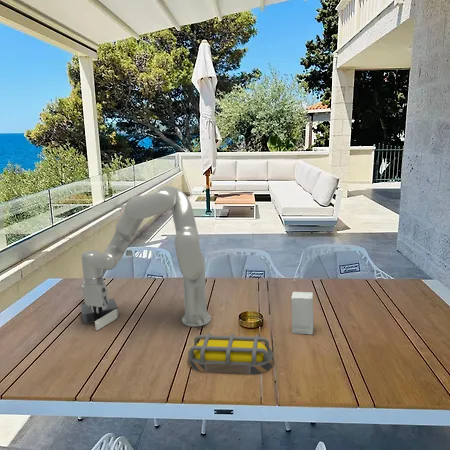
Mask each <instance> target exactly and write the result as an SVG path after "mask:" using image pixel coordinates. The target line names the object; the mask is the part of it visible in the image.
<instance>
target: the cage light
mask: <svg viewBox="0 0 450 450" xmlns="http://www.w3.org/2000/svg"><path fill="white" fill-rule="evenodd" d="M262 342H263V343H262ZM187 357H188V365H189V367H190V366H191V367H192V368H193V370H194V369H195V370H194V371H196V370H197V372H199V371H200V373H206V372H209V373H211V374H231V375H248V376H249V375H250V376H251V375H252V376H254V375H255V376H256V375H261V374H265V373H266V372H268V371H270V370H271V369H272V368H273V365H274V353H273V350H272V349H271V347H270V341H269V339H268V338H266V337H265V336H259V335H258V334H255V335H254V336H243V335H242V336H239V335H238V336H237V335H236V336H235V334H234V333H231V334H230V335H211V332H210V333H209V332H208V333H206V334H199V335H196V336H195V337H194V344H193V346H191V347H190V349H189V350H188V353H187ZM191 367H190V368H191ZM192 368H191V369H192ZM209 373H208V374H209Z"/></svg>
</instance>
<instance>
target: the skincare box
mask: <svg viewBox="0 0 450 450" xmlns="http://www.w3.org/2000/svg"><path fill="white" fill-rule="evenodd" d="M290 300H291V302H290V303H291V330H292V331H291V332H292V334H299V335H313V334H314V324H315V323H314V292H311V291H310V292H309V291H307V292H306V291H292V294H291V298H290Z"/></svg>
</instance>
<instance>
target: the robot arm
mask: <svg viewBox="0 0 450 450" xmlns="http://www.w3.org/2000/svg"><path fill="white" fill-rule="evenodd" d="M169 211H171V214H172V215H171V216H172V220H173V224H174V228H175V238H174V248H175V253H176V257H177V262H178V267H179V271H180V274H181V275H182V290H183V301H184V302H183V305H184V315H183V316H182V317H181V322H182V324H183V325H185V326H187V327H192V328H196V327H197V328H198V327H203V326H206V325H207V324H209V323H210V322H211V321H212V316H211V315H210V314H209V313H208V306H207V305H208V304H207V292H206V291H207V288H206V285H207V283H206V265H205V263H206V262H205V257H204V254H203V253H202V251H201V246H200V235H199V231H198V228H197V224H196V219H195V216H194V215H195V214H194V212H193V207H192V203H191V201H190V199H189V197H188V196H187V195H186V194H185V192H184V191H182V190H181V189H179V188H177V187H175V186H170V185H169V186H168V185H167V186H163V187H160V188H159V189H157V191H155V192H152V193H148V194H145V195H134V196H132V197H131V198H130V199H128V201H127V202H126V203H125V206H124V211H123V212H122V214H121V216H120V218H119V219H118V221H117V223H116V225H115V231H114V234H113V237H112V239H111V240H110V242H109V244H108V245H107V248H106V249H105V250H104V251H103V252H100V251H98V250H95V249H90V250H86V251H83V252H82V253H81V259H80V260H81V264H82V272H83V281H84V291H83V301H84V304H86V306H88V307H90V308H91V310H92V312H93V314H94V321H96V320H98V319H100V318H101V317H102V311H103V310H105V309H107V308H108V307H107V304H108V303H109V299H110V297H109V292H108V289H107V285H106V283H105V279H104V276H103V271H110V270H111V271H112V270H114V269H115V268H116V267H117V265H118V264H119V262H120V261H121V260H122V258H123V257H124V255H125V253H126V250H127V249H128V248H129V245H130V244H131V242H132V240H133V239H134V238H135V236H136V234H137V232H138V230H139V228H140V227H141V225H142V224H143V221H144V219H147V218H151V217H153V216H157V215H160V214H164V213H166V212H169ZM99 307H100V308H99Z"/></svg>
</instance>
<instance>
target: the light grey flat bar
mask: <svg viewBox="0 0 450 450" xmlns="http://www.w3.org/2000/svg"><path fill="white" fill-rule="evenodd" d="M118 313H119V308H118V309H115V310H113V311H112V312H110V313H108V314H107V315H105V316H103V317H101V318H100V319H98V320H96V321H95V322H94V325H95V326H94V327H95V331H99V330H101V329H102V328H104V327H105V326H107V325H109V324H110V323H112V322H113V321H115V320H117V319H119V317H120V316H119V317H118Z"/></svg>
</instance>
